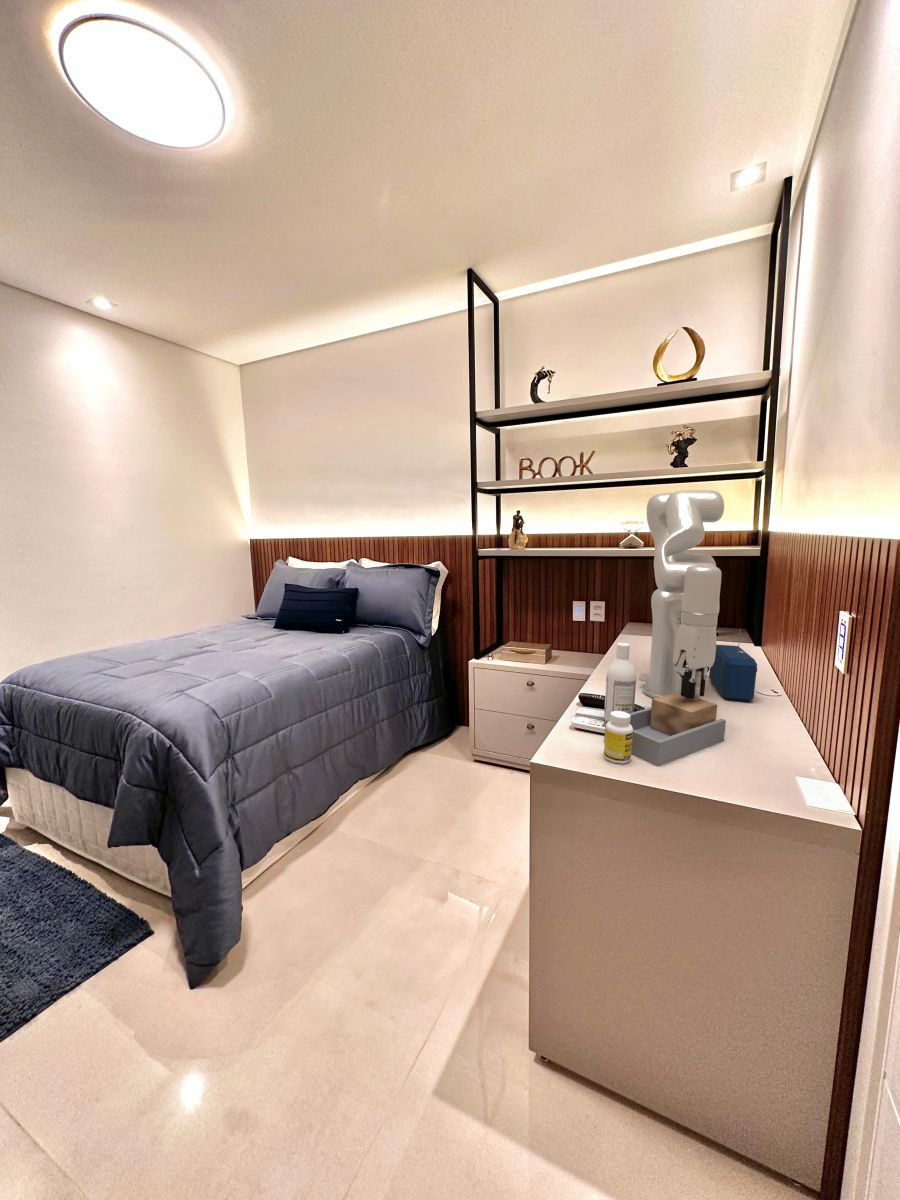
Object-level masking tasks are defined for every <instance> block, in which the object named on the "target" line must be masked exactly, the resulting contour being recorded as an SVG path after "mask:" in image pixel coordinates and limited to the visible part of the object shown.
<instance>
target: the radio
mask: <svg viewBox="0 0 900 1200" xmlns="http://www.w3.org/2000/svg"><path fill="white" fill-rule="evenodd" d="M739 632H741V628H740V629H739ZM740 640H741V633H739V636H738V642H740ZM757 672H758V663H757V662H756V660H755V658H753V657H752V656H751V655H750V654H748V653H747V652H746V651H745V650H744V649H742V648H741V646H740V643H738V645H730V644H716V655H715V661H714V663H713V666H712V667H711V668H710V669H709V671H708V673H709V675H708V679H709V680H710V681H711V683H712V685H713V686H714V687H715V688H716V689H717V691H718V692H719V694H720V695H721V696H722V698H723V699H724V700H734V701H745V702H751V701H752V700H753V699H754V697H755V689H756V681H757Z"/></svg>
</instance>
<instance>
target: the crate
mask: <svg viewBox="0 0 900 1200" xmlns="http://www.w3.org/2000/svg"><path fill="white" fill-rule="evenodd" d="M686 672H688V673H689V674H690V671H686ZM701 673H702V671H700V670H697V669H696V672H695V679H694V682H695V683H696V687H695V698H694V699H690V698H686V697H683V696H681V693H680V692H676V693H672V694H668V695H665V696H661V697H657V698H651V720H650V727H651V728H654V729H656V730H659V731H661V732H664V733H666V734H669V735H671V736H672V735H675V734H678V733H681V732H684V731H687V730H690V729H693V728H696V727H699V726H702V725H704V724H707V723H710V722H713V721H716V720H717V713H718V703H715V702H712V701H708V700H705V699H702V698H700V696H699V695H700V684H701Z"/></svg>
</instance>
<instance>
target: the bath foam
mask: <svg viewBox="0 0 900 1200" xmlns="http://www.w3.org/2000/svg"><path fill="white" fill-rule="evenodd" d="M630 646H631V645H630V644H629V643H628V642H618V643H616V657H615V659H614V660H613V661H612V662H611V663H610V665H609V667H608V668H607V672H606V678H605V694H604V695H605V696H604V709H603V711H604V713H603V719H604V718H605V719H606V720H608V719H610V713H611V712H613V711H622V712H626V713H628V714H629V713H632V712H635V703H636V702H635V701H636V700H635V699H636V688H637V687H636V686H637V684H636V683H637V673H636V670H635V667H634V666H633V663H632V662H631V660H630Z"/></svg>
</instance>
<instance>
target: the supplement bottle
mask: <svg viewBox="0 0 900 1200" xmlns="http://www.w3.org/2000/svg"><path fill="white" fill-rule="evenodd" d="M610 720H611V721H609V722H608V723H607V724H606V731H605V730H604V737H605V741H604V748H603V757H604V758H605V760H607V761H608V762H610V763H615V764H627V763H629V762H630V761H631V760H632V759H631V758H632V754H631V748H632V736H633V728H632V726H631V725H630V724H629V723H630V714H628V713H626V712H622V711H613V712H611V713H610Z"/></svg>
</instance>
